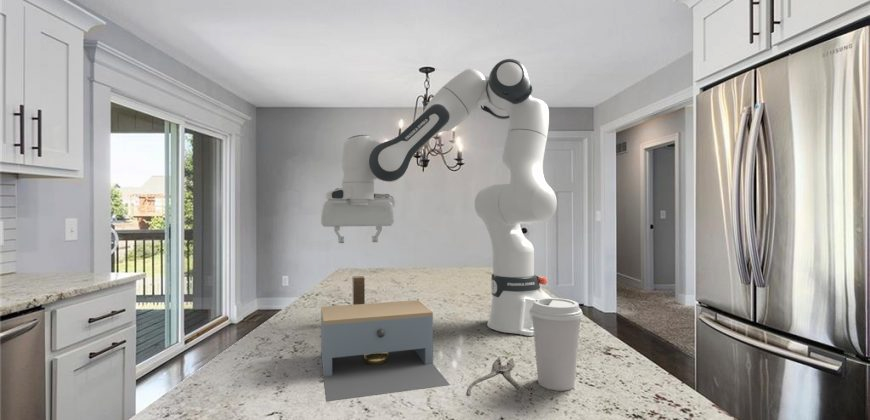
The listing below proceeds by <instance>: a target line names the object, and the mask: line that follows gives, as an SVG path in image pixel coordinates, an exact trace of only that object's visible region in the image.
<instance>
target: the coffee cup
mask: <svg viewBox="0 0 870 420" xmlns="http://www.w3.org/2000/svg"><path fill="white" fill-rule="evenodd" d="M583 313H584V312H583V311H582V309H581V308H580V304H579V302H577V301H574V300H571V299H569V298H568V299H567V298H559V297H555V298H554V297H552V298H541V299H537V300H535V301H534V304H533V306H532V307H531V309H530V314H531V315H532V319H533V329H534V335H533V336H534V337H533V339H534V350H535V362H536V372H537V373H536V374H537V375H536V376H537V383H538V385H540V386H541V387H543V388H545V389H547V390H550V391H556V392H557V391H558V392H562V391H564V392H565V391H569V390H570V391H571V390H572V389H574V387H575V382H576V371H577V363H578V362H577V361H578V360H577V359H578V347H579V337H580V329H581V319H582V318H584V314H583Z"/></svg>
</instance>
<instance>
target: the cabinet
mask: <svg viewBox="0 0 870 420" xmlns="http://www.w3.org/2000/svg"><path fill="white" fill-rule="evenodd" d="M320 310H321V311H320V313H321V315H320V316H321V317H320V325H321V327H320V329H321V331H320V334H321V335H320V336H321V343H320V345H321V346H320V347H321V349H320V350H321V351H320V354H321V364H322V372H323V377H324V376H330V375H332V358H335V357H345V356H354V355H364V354H374V353H383V352H393V351H403V350H412V349H414V350H415V351H416V353H417V354H418V355H419V357H420V358H421V359H422V361H423V362H424V363H425V364H434V342H433V341H434V327H433V326H434V320H433V319H434V315H433V313H434V312H433V311H432V310H430V309H429V308H428V307H427V306H426V305H425V304H423V303H422V302H421V301H419V300H418V299H415V300H403V301H402V300H401V301H389V302H373V303H371V302H370V303H365V304H357V305H353V304H346V305H345V304H344V305H333V306H331V305H330V306H328V305H327V306H320Z"/></svg>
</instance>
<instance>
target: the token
mask: <svg viewBox="0 0 870 420" xmlns="http://www.w3.org/2000/svg"><path fill="white" fill-rule="evenodd" d="M364 362H365V364H368V365H382V364H385V363H387V362H388V352H383V353H374V354H364Z"/></svg>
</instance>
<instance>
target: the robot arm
mask: <svg viewBox="0 0 870 420" xmlns="http://www.w3.org/2000/svg"><path fill="white" fill-rule="evenodd" d="M533 90H534V89H533V85H532V84H531V81H530V78H529V74H528V71H527V69H526V67H525V66H524V64H523V63H522V62H520V61H519V60H516V59H514V58H513V59H512V58H506V59H505V58H504V59H502V60H501V61H499V62H497V63H496V64H495V65H494V66H493V68H492V69H491V71H490V72H489V76H486V75H484V74H483V73H482V72H481V71H479V70H477V69H474V68H467V69H465V70H463V71H461V72H460V73H458V74H457V75H455V76H454V77H453V78H451V79H450V80H449V81H448V82H446V83H445V84H444V85H443V86H442V87H441V88H440V89H439V90H438V91H437V92H436V93H435V94H434V95H433V97H432V98H431V99H430V100H429V102H428V103H427V105H426V107H424V110H423V111H422V113H421V114H420V116H418V118H416V119H415V120H414V121H413V122H412V123H411V124H410V125H409V126H408V127H406V129H404V131H402V132H401V133H400V134H399V135H398V136H396V137H394V138H392V139H390V140H386V141H384V142H379V141H378V140H376V139H374V138H373V137H372V136H371V135H368V134H359V135H354V136H353V135H352V136H351V137H349V138H347V139H346V140H345V142H344V144H343V149H342V157H341V158H342V161H341V166H342V167H341V168H342V171H343V178H342V181H341V187H340V188H339V187H338V188H335V189H332V190H329V191H327V192H326V193H325V198H326V201H325V202H324V203H323V205H322V209H321V218H320V224H321V225H322V227H324V228H325V227H330V228H333V232H334V233H335V234H336V236H337V242H338V243H337V244H344V243H345V236H341V235H340V232H339V231H340V229H341V227H342V228H343V227H375V230H376V233H375V234H374V235H372V236H371V242H372V243H378V242H379V236H380V234H381V232H382V230H383V227H392V226H393V225H394V224H395V214H394V208H395V202H396V200H395V198H394V196H392V195H390V194H389V193H375V180H380V181H383V182H386V183H394V182H397V181H399V180H401V179H402V178H403V176H404V175H405V173H407V169H408V167H409V165H410V162H411V160H412V158H413V156H415V155H416V153H417V152H418V151H419V150H420V149H422V147H423V146H425V145H426V144H427V143H428V142H430V140H431V139H432V138H433V137H435V136H437V134H441V133H443V132H449V131H451V130H453V129H455V128H456V127H457V126H459V125H460V124H461V123H463V122H464V121H465V120H466V119H467V118H468V117H469V116H470V115H471V114H472V113H473V112H474V111H475V110H476V109H477V108H479V107H480V108H481V110H482V111H484V112H487V113H488V114H490V115H491V116H493V117H494V118H496V119H500V120H508V119H509V120H508V121H509V123H508V128H507V132H506V138H505V142H504V147H503V153H502V162H503V165H504V166H505V167H506V168H507V169H509V170H510V180H509V181H510V182H509V183H500V184H498V183H497V184H492V185H489V186H487V187H485V188H482V189H480V190H479V191H478V192H477V194H476V196H475V199H474V209H475V212H476V214H477V216H478V217H479V218H480V219H481V220H482V222H484V225H485V226H486V229H487V231H488V234H489V239H490V241H491V246H492V248H491V249H492V274H491V280H490V281H491V283H490V284H491V285H490V288H491V295H492V296H491V304H490V312H489V315H488V321H487V323H486V324H487V327H488V328H489V329H492V330H494V331H497V332H502V333H506V334H507V333H508V334H517V335H522V336H527V337H533V336H534V329H533V319H532V315H531V314H530V309H531V307H532V306H533V304H534V301H535V300H537V299H541V298H553V297H551V296H550V295H549V294H548V293H546V292H545V290H543V289H542V288H541V286H540V285H543V286H545V285H547V284H548V278H547V277H545V276H538V275H536V274H535V249H534V245H533V243H532V242H531V241H530V240H529V239H527V237H526V236H525V235H524V233H523V230H522V227H521V225H536V224H540V223H544V222H548V221H550V220H551V219H552V218H553V216H554V215H555V213H556V211H557V207H558V206H557V205H558V201H557V199H558V198H557V196H556V193H555V191H554V190H553V189H552V187H551V186H550V185H549V184H548V182H547V181H546V179H545V175H544V158H545V151H546V145H547V140H548V134H549V127H550V109H549V107H548V104H547V103H546V102H545V101H543V100H542V99H541V98H540V99H539V98H536V97H533V96H532V93H533Z"/></svg>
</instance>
